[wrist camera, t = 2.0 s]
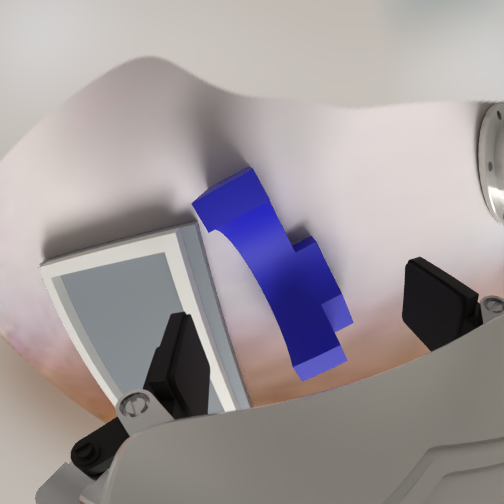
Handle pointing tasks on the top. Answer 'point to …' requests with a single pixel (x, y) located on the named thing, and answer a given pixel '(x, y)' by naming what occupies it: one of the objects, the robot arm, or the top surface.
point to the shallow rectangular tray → (143, 309)
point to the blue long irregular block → (281, 271)
